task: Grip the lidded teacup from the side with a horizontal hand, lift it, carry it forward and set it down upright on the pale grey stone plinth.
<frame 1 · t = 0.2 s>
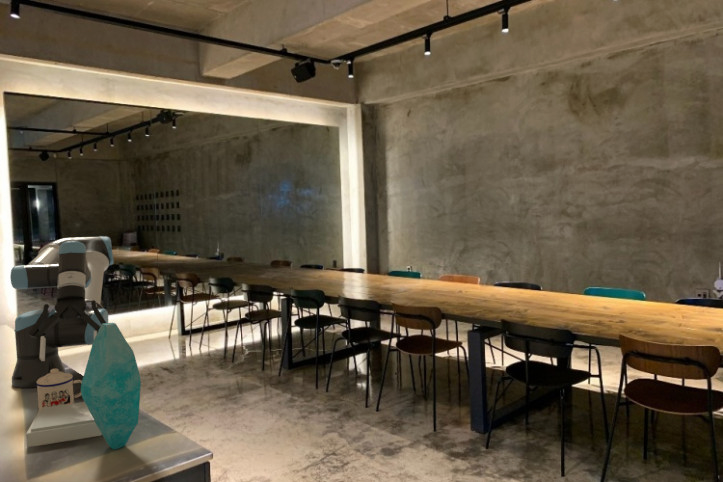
hand: (69, 356, 149), 14 cm above the counter, tool tilted 35°, fingers open, 13 cm apart
crystal: (116, 448, 123), on the counter
teacup with lid: (62, 408, 147), on the counter
plinth: (70, 428, 134), on the counter
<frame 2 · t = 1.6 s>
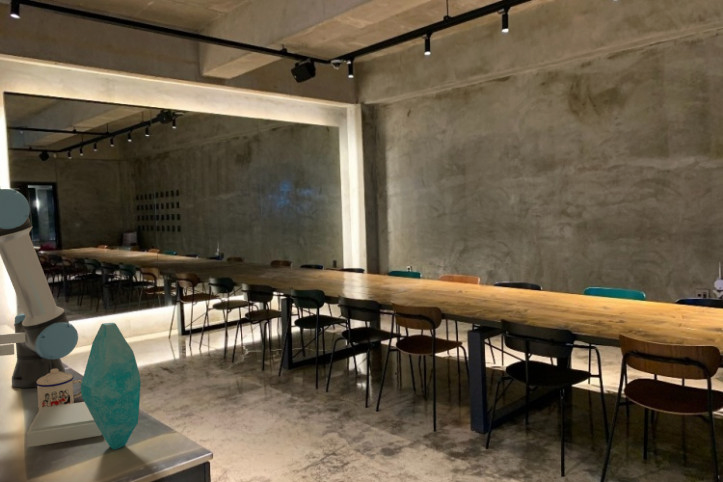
hand: (19, 342, 142), 20 cm above the counter, tool horizontal, fingers open, 13 cm apart
nothing on the counter moved.
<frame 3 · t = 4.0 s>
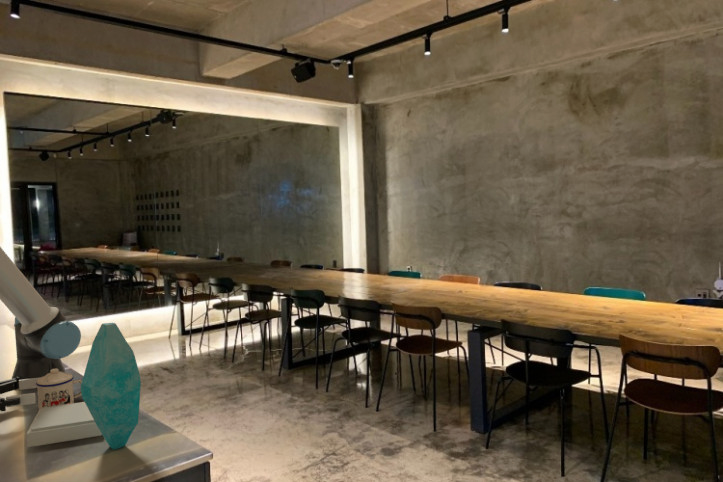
hand: (40, 389, 145), 6 cm above the counter, tool horizontal, fingers open, 13 cm apart
nothing on the counter moved.
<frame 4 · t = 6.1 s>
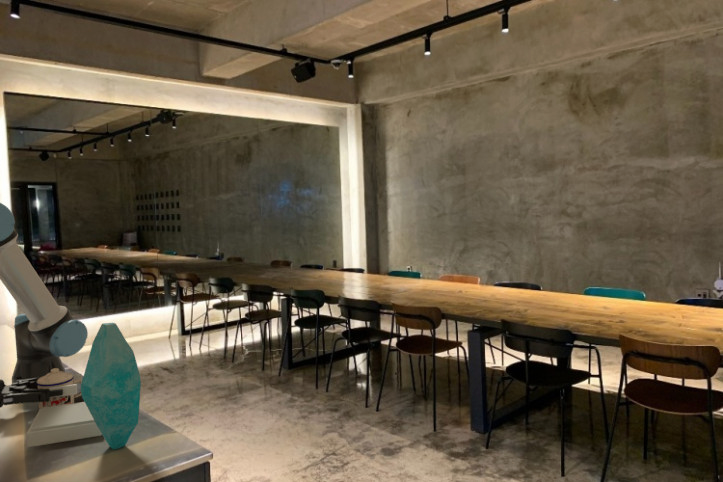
hand: (79, 383, 149), 7 cm above the counter, tool horizontal, fingers closed on teacup with lid, 9 cm apart
teacup with lid: (62, 408, 148), on the counter, touching gripper
everything else where it was.
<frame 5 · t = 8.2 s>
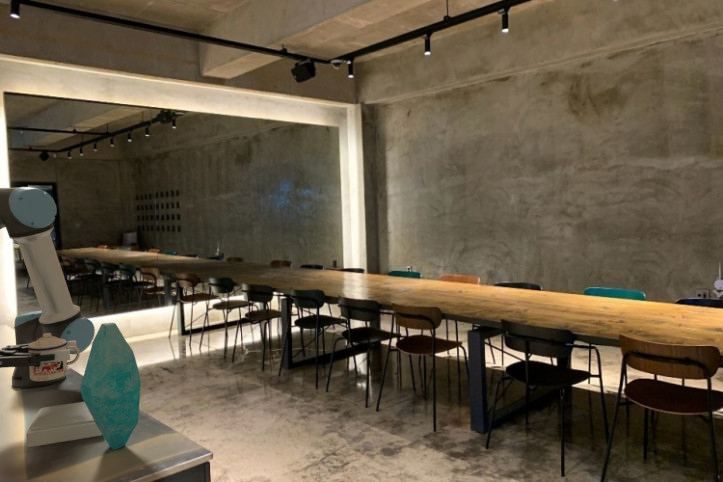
hand: (72, 350, 140), 19 cm above the counter, tool horizontal, fingers closed on teacup with lid, 9 cm apart
teacup with lid: (55, 376, 139), point 12 cm above the counter, touching gripper
everything else where it was.
when the fingers open (12 cm above the counter, at t = 10.3 s): teacup with lid drops 1 cm, resting on plinth.
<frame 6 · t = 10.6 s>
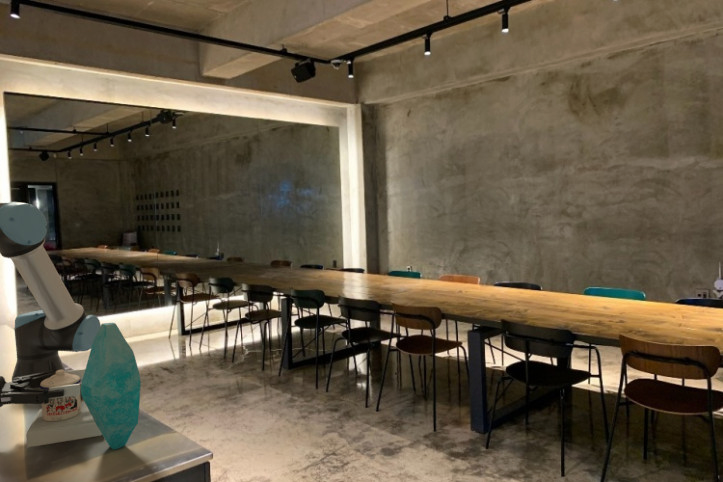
hand: (83, 381, 135), 12 cm above the counter, tool horizontal, fingers open, 12 cm apart
teacup with lid: (68, 414, 134), point 4 cm above the counter, touching plinth
everything else where it was.
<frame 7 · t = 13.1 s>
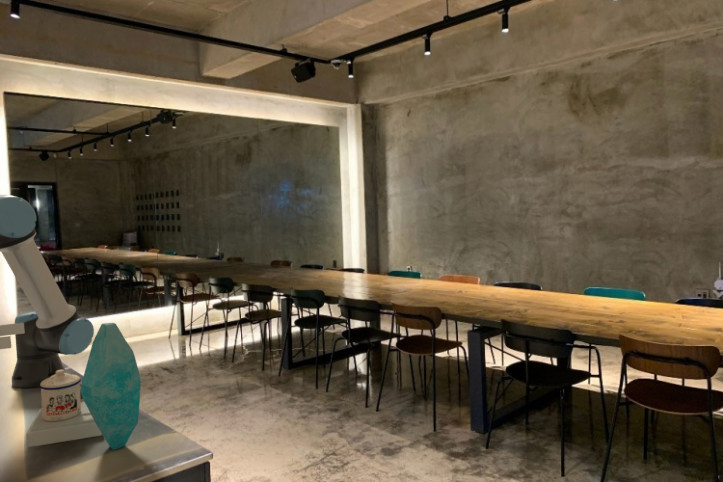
hand: (17, 334, 128), 26 cm above the counter, tool horizontal, fingers open, 13 cm apart
nothing on the counter moved.
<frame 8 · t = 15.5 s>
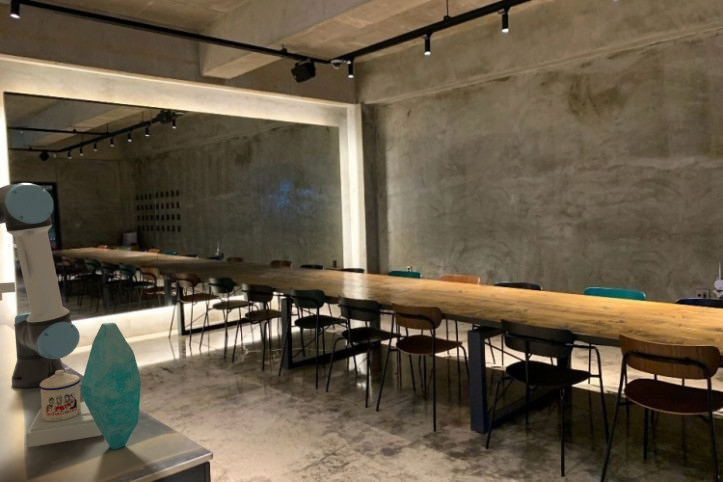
hand: (8, 290, 139), 35 cm above the counter, tool horizontal, fingers open, 13 cm apart
nothing on the counter moved.
at the end: teacup with lid inside the target area on the plinth (0.2 cm from its centre), point 3.8 cm above the plinth's base; teacup with lid tilted 0°; the gripper is holding nothing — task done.
